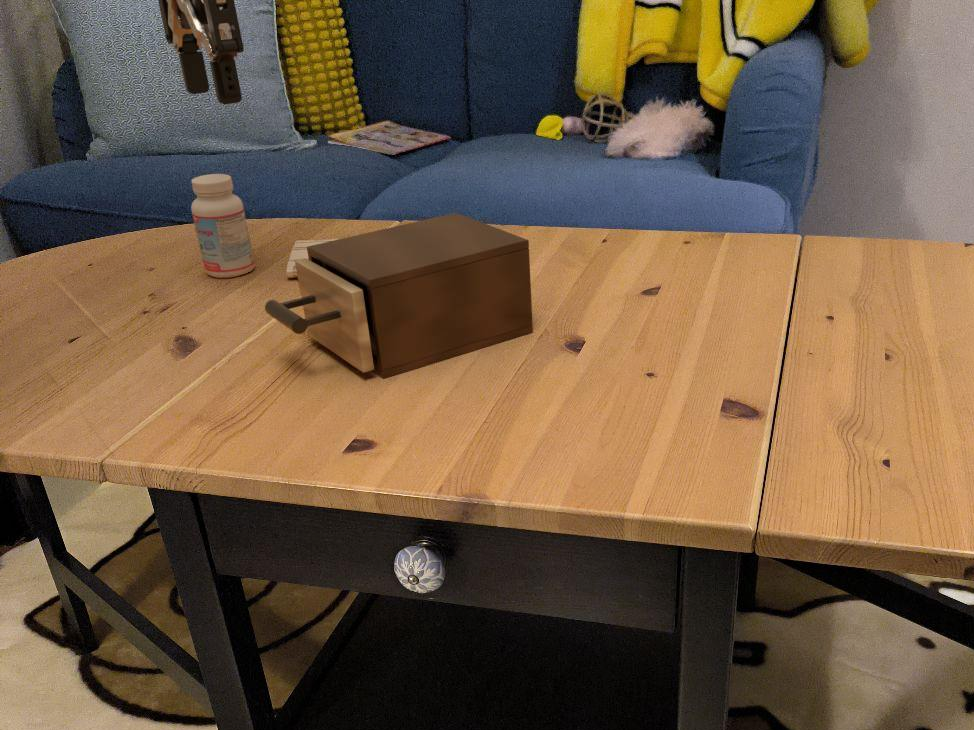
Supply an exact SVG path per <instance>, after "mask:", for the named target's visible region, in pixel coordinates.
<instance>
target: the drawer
mask: <svg viewBox="0 0 974 730" xmlns="http://www.w3.org/2000/svg"><path fill="white" fill-rule="evenodd" d="M295 265H296V271H297V276H298V277H297V280H298V287H299V292H300V297H299V298H294V299H292V300H287V301H283V302H279V301H277V300H275V299H270V300H268V301H267V302H266V303H265V306H264V310H265V313H266V314H267V315H268V316H270V317H272V318H273V319H274V320H276V321H277V322H279V323H280V324H282V326H284V327H286V328H287V329H288V330H291V332H293V333H294V334H296V335H302V334H304V333H305V332H306V331H307V335H308V336H309V337H310V338H311V339H313V340H314V341H316V342H317V343H319V344H320V345H322V346H323V347H325V348H326V349H328V350H330V352H332V353H333V354H336V356H337V357H339V358H341V359H342V360H344V361H345V362H347V363H348V364H350V365H351V366H353V367H354V368H356V369H357V370H358V371H360V372H362V373H363V374H364V373H367V372H370V371H371V370H374V364H373V357H372V354H374V355H375V356H377V353H376V346H375V339H374V332H373V325H372V318H371V311H370V304H369V297H368V290H367V286H365V285H363V284H361V283H360V282H358V281H356V280H354V279H352V278H350V277H349V276H347V275H345V274H343V273H341V272H339V271H338V270H336V269H334V268H332V267H330V266H328V265H327V264H325V263H323V262H322V266H323V268H322V267H320V266H319V265H317V264H315V263H313V262H311V261H310V260H308V259H306V258H304V259H300V260H296V261H295ZM299 307H302V309H303V313H304V314H303V315H304V318H303V317H302V316H300V315H298V314H297V313H296V312H294V311H292V310H291V309H295V308H299ZM371 372H372V371H371Z"/></svg>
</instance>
